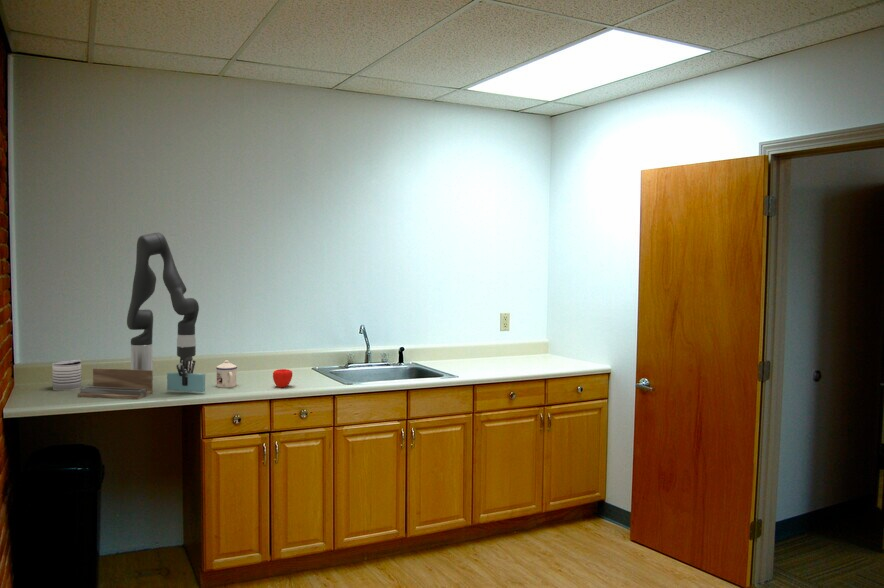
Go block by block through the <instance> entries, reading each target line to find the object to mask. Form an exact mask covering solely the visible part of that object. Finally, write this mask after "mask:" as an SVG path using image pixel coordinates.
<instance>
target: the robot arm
mask: <svg viewBox="0 0 884 588" xmlns="http://www.w3.org/2000/svg"><path fill="white" fill-rule="evenodd" d="M135 255H136V261H135V262H136V263H135V271H134V276H133V282H132V291H131V300H130V304H129V308H128V310H127V316H126V326H127V328H128V329H129V330H134V331H137V330H139V331H141V330H142V331H143V332H141V333H140V334H139V335H136V336H134V337H132V338H131V339H130V369H131V370H153V371H154V361H153V329H154V313H153V311H152V310H151V309H140V308H141V307H142V305H143V304H144V303H145V302H146V301H147V300H149V299H150V298H151V296H152V295H154V293H155V289H156V284H157V276H156V273H155V272H154V271H153V269H152V268H151V266H150V264H149V261H150V257H151V256H155V255H156V256H157V255H160V256H161V259H162V260H163V271H162V280H163V284H164V286H165V287H166V289H167V291H168V293H169V295H170V296H169V297H170V300H171V301H170V302H171V304H172V308H173V310H174V312H175V314H177V315H179V316H183V318H182V320H179V322H177V338H176V356H177V357H179V364H176V369H177V373H179V376H181V377H182V385H183V386H187V385H188V373H194V370H195V366H196V363H197V362H196V360H194V359H193V358H194V357H195V356H196V352H197V351H196V347H197V343H196V342H197V341H196V322H197V319H198V316H199V311H200V305H199V301H198V300H197V299H195V298H194V297H193V298H192V297H189V298H188V297H187V298H185V296H184V294H186V292H187V287H186V284H185V283H184V281H183V279H182V278H181V276H180V273H179V271H178V269H177V266H176V264H175V260H174V257H173V254H172V252H171V249H170V246H169V244H168V240H167V238H166V237H165V235H164V234H163V233H161V232H152V233H148V234H143V235H142V234H141V235H140V236H139V237H138V238H137V242H136V254H135Z"/></svg>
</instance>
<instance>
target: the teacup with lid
mask: <svg viewBox="0 0 884 588" xmlns="http://www.w3.org/2000/svg"><path fill="white" fill-rule="evenodd" d="M215 369H216V387H217V388H222V389H223V388H224V389H226V388H227V389H228V388H230V389H231V388H235V387H237V377H238V375H237V372H238V371H237V370H238V366H237V365H236V364H233V363H232V362H230V361H229V360H224V361H223V362H222V363H221V364H219V365H217V366H216V368H215Z"/></svg>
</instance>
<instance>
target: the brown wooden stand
mask: <svg viewBox="0 0 884 588" xmlns="http://www.w3.org/2000/svg"><path fill="white" fill-rule="evenodd" d="M153 380H154V369H153V370H131V368H130V369H129V368H128V369H127V368H105V367H103V368H102V367H93V368H92V385H91V386H90V385H88V386H84V387H81V388H79V390H80V391H79V392H80V393H79V392H78V393H77V397H78V396H83V397H82V398H96V397H101V398H102V399H118V398H119V399H120V400H121V399H122V400H123V399H124V400H139V399H142V398H145V397H147V396H149V395H150V396H151V395H153V393H154V391H153V390H154V389H153V386H154V385H153Z"/></svg>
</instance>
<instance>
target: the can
mask: <svg viewBox="0 0 884 588" xmlns="http://www.w3.org/2000/svg"><path fill="white" fill-rule="evenodd" d="M51 365H52V368H51V369H52V370H51V371H52V389H53V391H58V390H66V391H73V390H74V389H75V390H80V389H81V388H82V359H72V360H63V361H62V360H61V361H58V362H57V361H56V362H53V363H52V364H51ZM75 390H74V391H75Z"/></svg>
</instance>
